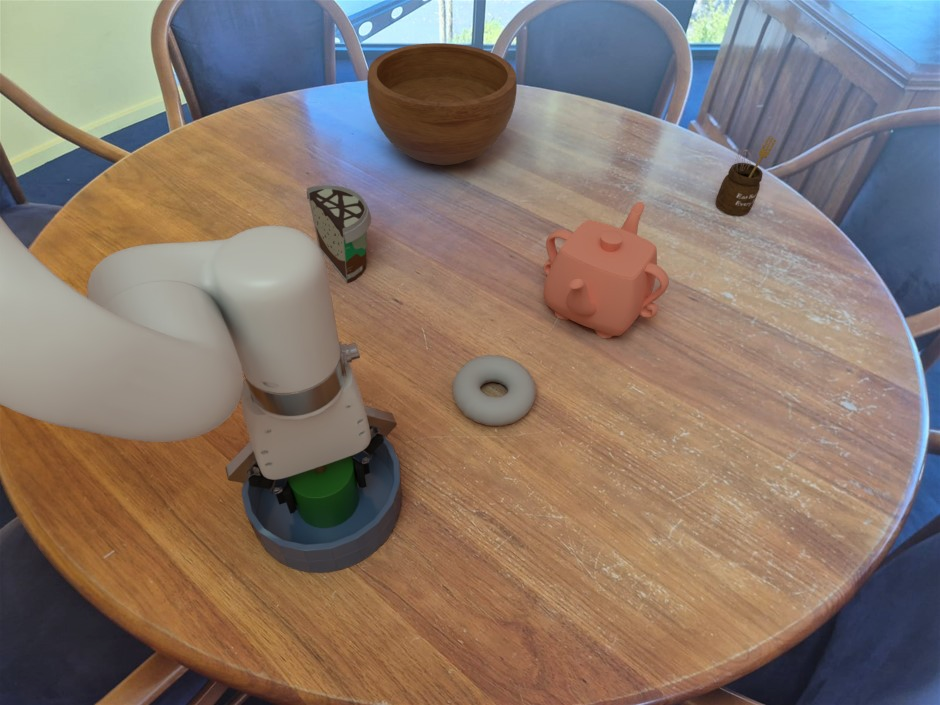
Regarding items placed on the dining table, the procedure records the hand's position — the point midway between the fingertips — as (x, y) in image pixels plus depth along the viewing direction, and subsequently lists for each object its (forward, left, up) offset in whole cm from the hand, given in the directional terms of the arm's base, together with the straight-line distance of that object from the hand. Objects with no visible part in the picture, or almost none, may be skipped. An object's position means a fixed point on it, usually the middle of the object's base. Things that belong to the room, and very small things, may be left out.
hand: (325, 487), depth 63 cm
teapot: (+42, +15, -3) cm, 45 cm away
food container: (+14, +38, -3) cm, 41 cm away
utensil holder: (+78, +28, -3) cm, 83 cm away
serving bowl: (0, 0, -3) cm, 3 cm away
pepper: (0, 0, -2) cm, 2 cm away
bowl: (+38, +61, -3) cm, 72 cm away
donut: (+22, +6, -3) cm, 23 cm away
